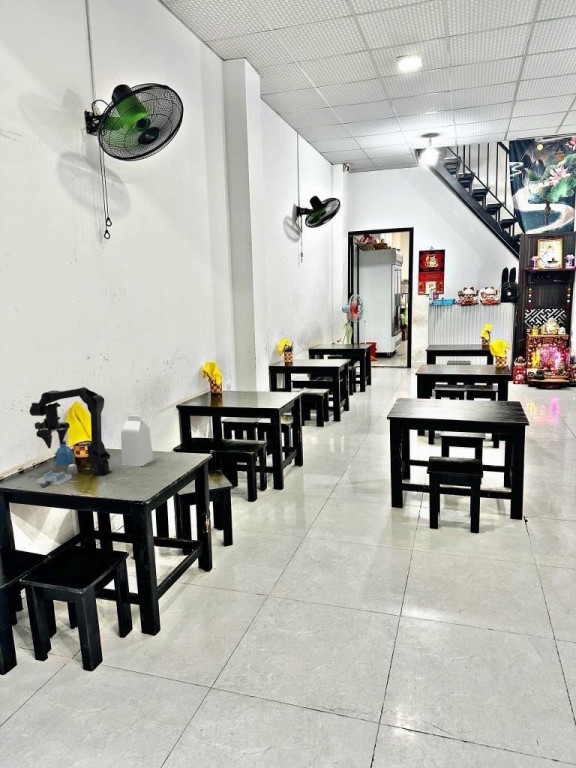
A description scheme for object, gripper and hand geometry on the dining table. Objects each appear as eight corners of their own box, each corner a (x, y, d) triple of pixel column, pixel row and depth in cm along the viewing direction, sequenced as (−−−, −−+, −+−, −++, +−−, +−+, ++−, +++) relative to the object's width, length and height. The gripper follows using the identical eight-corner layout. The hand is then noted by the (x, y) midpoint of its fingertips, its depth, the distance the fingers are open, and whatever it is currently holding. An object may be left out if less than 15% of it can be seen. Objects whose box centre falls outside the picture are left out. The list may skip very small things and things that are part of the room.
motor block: (72, 478, 262) (71, 470, 261) (53, 488, 249) (52, 480, 248) (50, 476, 265) (49, 469, 264) (31, 486, 251) (30, 478, 251)
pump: (79, 473, 269) (78, 463, 268) (74, 476, 265) (73, 466, 264) (71, 472, 270) (70, 463, 269) (66, 475, 266) (65, 466, 265)
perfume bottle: (56, 464, 283) (54, 443, 281) (61, 461, 289) (59, 439, 287) (68, 464, 284) (66, 442, 281) (72, 460, 290) (70, 439, 288)
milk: (121, 465, 280) (118, 417, 275) (134, 459, 290) (130, 412, 286) (141, 467, 276) (138, 418, 272) (153, 460, 287) (150, 413, 283)
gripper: (50, 411, 279) (53, 440, 281) (25, 420, 261) (29, 450, 264) (68, 411, 276) (72, 440, 279) (44, 420, 258) (48, 451, 261)
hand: (55, 445), depth 271 cm, fingers open, 9 cm apart
